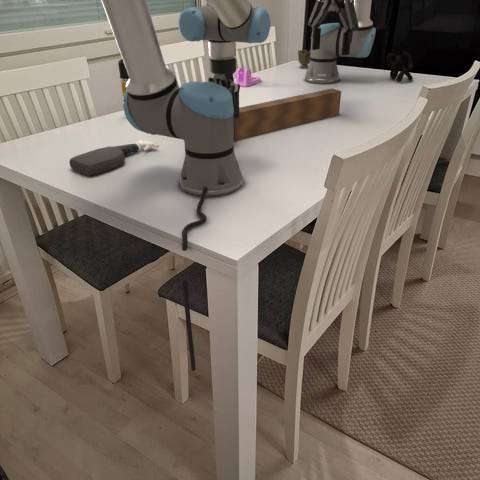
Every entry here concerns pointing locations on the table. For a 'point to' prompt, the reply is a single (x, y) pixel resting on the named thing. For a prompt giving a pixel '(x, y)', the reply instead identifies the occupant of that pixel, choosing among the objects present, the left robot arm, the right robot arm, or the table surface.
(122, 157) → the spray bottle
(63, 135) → the table surface
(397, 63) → the squiggle
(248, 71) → the bracket
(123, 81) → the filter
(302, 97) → the bar
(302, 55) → the cup
